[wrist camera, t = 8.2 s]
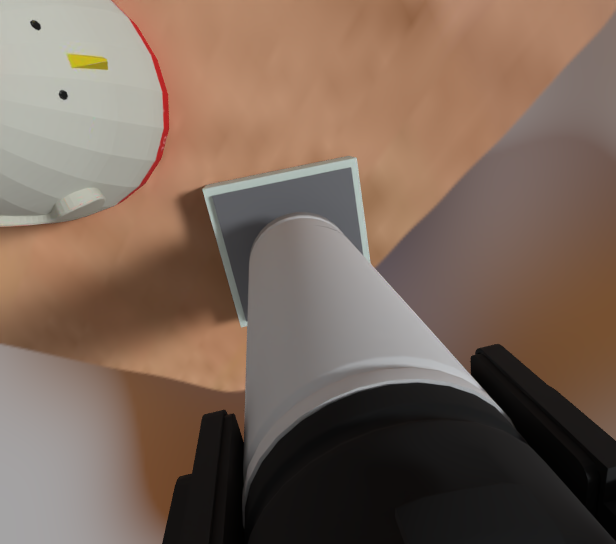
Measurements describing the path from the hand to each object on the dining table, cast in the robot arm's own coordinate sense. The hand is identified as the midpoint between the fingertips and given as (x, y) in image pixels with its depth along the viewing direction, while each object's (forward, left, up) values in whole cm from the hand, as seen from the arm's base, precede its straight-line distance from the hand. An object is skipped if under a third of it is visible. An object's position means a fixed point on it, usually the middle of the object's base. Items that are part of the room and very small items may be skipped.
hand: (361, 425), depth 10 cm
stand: (0, 0, -19) cm, 19 cm away
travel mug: (0, 0, -15) cm, 15 cm away
